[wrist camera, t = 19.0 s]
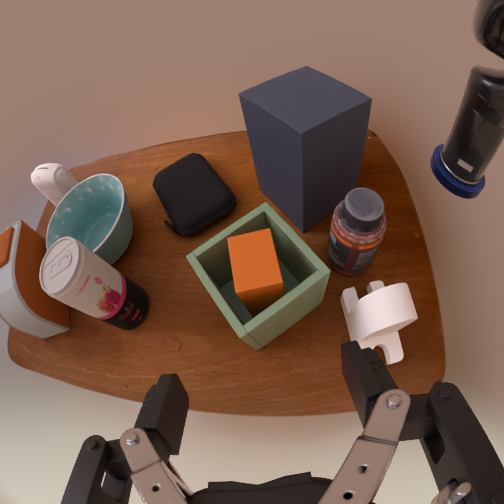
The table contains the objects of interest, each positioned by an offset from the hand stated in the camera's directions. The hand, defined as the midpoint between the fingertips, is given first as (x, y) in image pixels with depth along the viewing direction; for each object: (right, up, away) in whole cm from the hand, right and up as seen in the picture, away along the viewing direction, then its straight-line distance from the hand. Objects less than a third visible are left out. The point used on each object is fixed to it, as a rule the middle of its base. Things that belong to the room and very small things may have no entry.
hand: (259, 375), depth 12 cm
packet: (+1, +1, +21) cm, 21 cm away
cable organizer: (+14, -3, +18) cm, 23 cm away
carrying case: (-10, +14, +31) cm, 35 cm away
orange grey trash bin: (-35, -2, +27) cm, 44 cm away
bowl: (-24, +7, +30) cm, 39 cm away
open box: (+1, 0, +21) cm, 22 cm away
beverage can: (-17, -2, +24) cm, 29 cm away
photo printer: (-36, +15, +36) cm, 53 cm away
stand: (+8, +15, +27) cm, 32 cm away
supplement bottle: (+12, +5, +22) cm, 26 cm away
